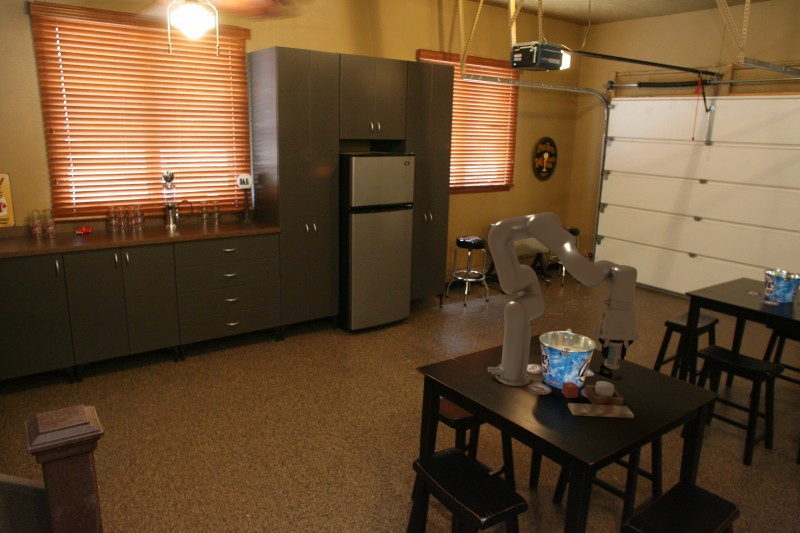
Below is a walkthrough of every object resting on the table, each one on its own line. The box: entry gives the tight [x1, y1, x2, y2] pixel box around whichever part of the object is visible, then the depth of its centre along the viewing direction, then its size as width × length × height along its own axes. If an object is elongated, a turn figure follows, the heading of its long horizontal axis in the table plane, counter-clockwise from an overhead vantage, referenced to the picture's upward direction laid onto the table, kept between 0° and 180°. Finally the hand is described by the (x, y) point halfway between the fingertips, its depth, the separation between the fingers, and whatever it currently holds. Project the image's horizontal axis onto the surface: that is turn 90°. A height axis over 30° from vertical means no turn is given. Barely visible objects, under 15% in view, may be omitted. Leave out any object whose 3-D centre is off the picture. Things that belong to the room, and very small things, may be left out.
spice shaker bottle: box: [604, 340, 623, 370], centre depth 190 cm, size 5×5×12 cm
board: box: [567, 402, 635, 419], centre depth 195 cm, size 20×6×1 cm, turn 90°
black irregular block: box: [590, 361, 621, 381], centre depth 226 cm, size 12×7×5 cm, turn 44°
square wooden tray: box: [583, 384, 625, 406], centre depth 204 cm, size 10×10×3 cm
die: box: [561, 381, 580, 399], centre depth 206 cm, size 4×4×4 cm
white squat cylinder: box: [595, 380, 615, 397], centre depth 204 cm, size 6×6×5 cm
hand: (612, 357), depth 191 cm, fingers closed on spice shaker bottle, 4 cm apart
